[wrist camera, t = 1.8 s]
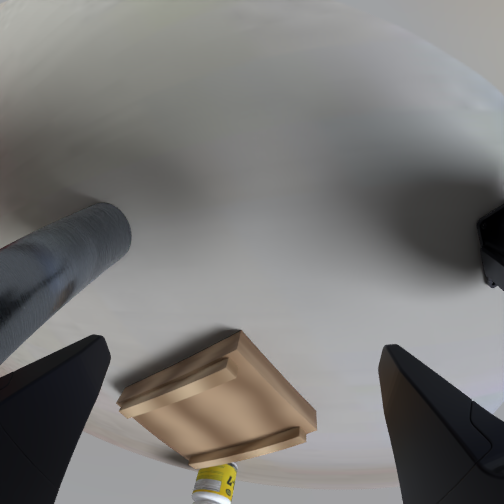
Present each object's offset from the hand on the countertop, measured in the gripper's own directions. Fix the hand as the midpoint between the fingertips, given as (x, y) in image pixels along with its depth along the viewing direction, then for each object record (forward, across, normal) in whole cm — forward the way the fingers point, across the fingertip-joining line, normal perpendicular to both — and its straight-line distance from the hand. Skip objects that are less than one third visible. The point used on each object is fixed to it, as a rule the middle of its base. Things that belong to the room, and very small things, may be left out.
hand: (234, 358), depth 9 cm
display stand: (+13, +5, +18) cm, 22 cm away
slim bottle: (+13, +12, 0) cm, 18 cm away
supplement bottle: (+13, +6, +30) cm, 34 cm away
